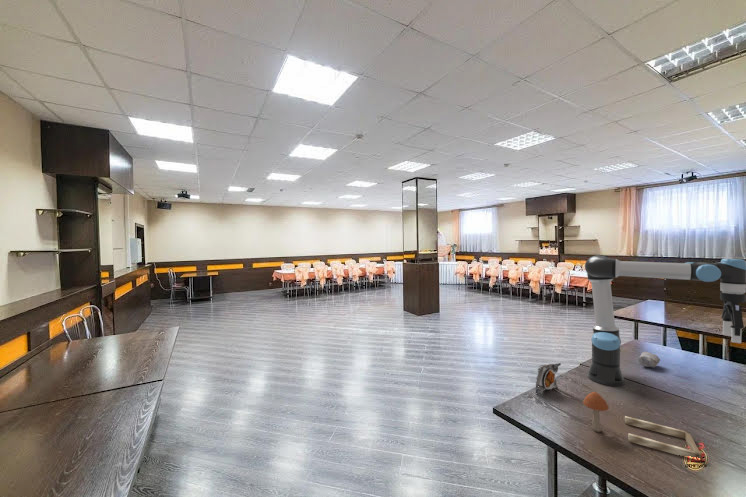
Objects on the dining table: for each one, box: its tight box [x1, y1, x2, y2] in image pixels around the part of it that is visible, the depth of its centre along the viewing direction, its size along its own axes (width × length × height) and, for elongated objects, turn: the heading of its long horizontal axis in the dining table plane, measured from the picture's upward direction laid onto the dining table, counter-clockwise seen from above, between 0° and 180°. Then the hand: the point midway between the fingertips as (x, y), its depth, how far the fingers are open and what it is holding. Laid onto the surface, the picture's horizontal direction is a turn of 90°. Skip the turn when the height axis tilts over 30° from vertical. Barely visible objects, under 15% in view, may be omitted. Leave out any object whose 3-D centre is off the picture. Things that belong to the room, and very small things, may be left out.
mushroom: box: [582, 391, 610, 433], centre depth 116 cm, size 8×8×15 cm
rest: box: [624, 415, 702, 459], centre depth 109 cm, size 18×14×3 cm
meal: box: [535, 363, 562, 398], centre depth 146 cm, size 15×4×13 cm, turn 122°
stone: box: [638, 351, 661, 368], centre depth 174 cm, size 8×12×7 cm, turn 130°
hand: (731, 338), depth 138 cm, fingers open, 13 cm apart
